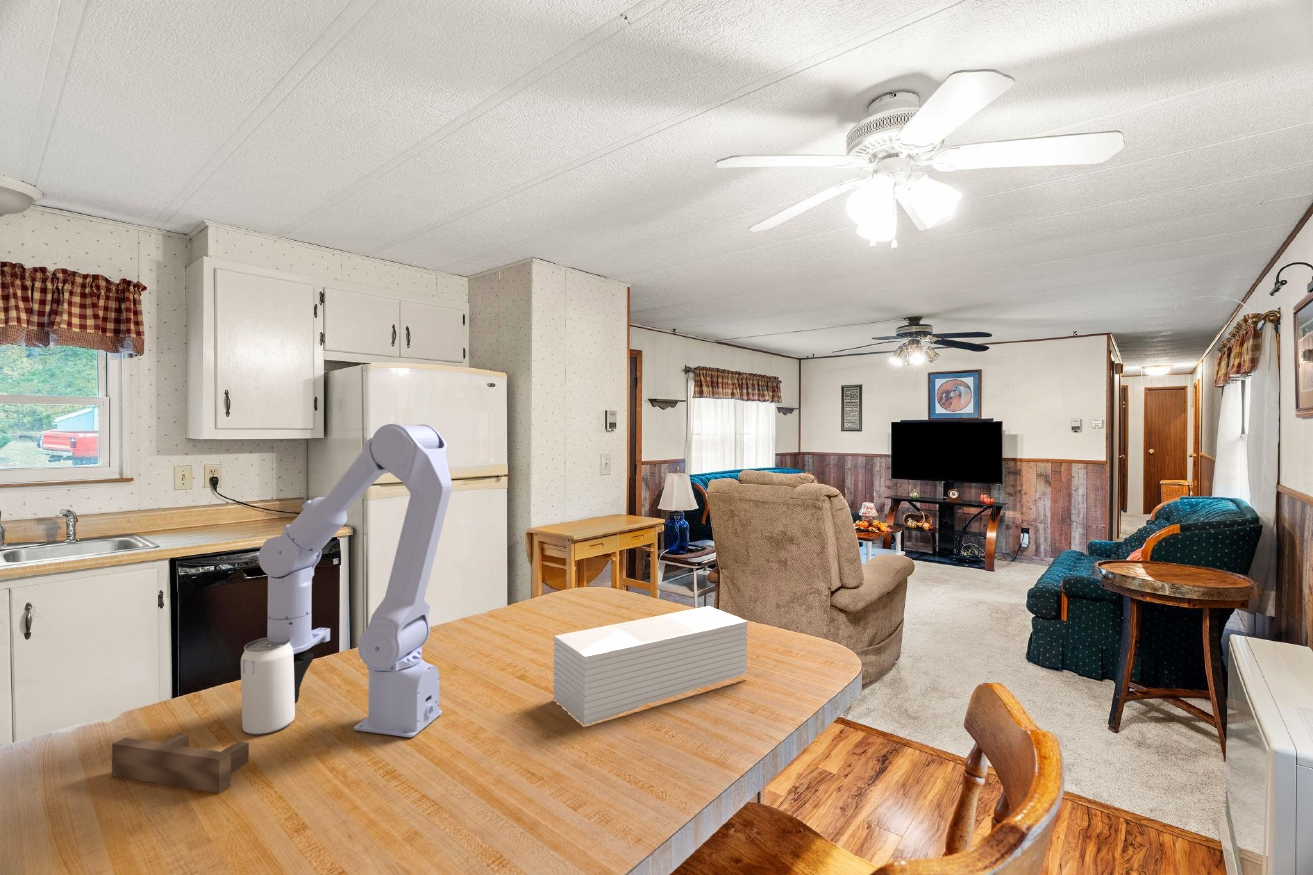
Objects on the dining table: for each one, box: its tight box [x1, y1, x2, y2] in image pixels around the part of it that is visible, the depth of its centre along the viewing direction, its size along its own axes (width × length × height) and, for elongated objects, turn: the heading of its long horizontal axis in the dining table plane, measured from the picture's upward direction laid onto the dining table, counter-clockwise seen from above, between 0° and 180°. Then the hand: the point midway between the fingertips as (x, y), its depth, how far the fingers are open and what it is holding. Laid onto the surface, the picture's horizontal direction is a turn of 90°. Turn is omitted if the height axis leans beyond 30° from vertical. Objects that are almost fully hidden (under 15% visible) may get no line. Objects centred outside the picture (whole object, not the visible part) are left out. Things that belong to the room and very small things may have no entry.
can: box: [240, 637, 296, 736], centre depth 89 cm, size 6×6×12 cm
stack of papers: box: [552, 605, 748, 726], centre depth 103 cm, size 32×11×11 cm, turn 124°
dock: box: [111, 732, 250, 794], centre depth 77 cm, size 16×6×4 cm, turn 78°
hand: (288, 703), depth 93 cm, fingers closed
